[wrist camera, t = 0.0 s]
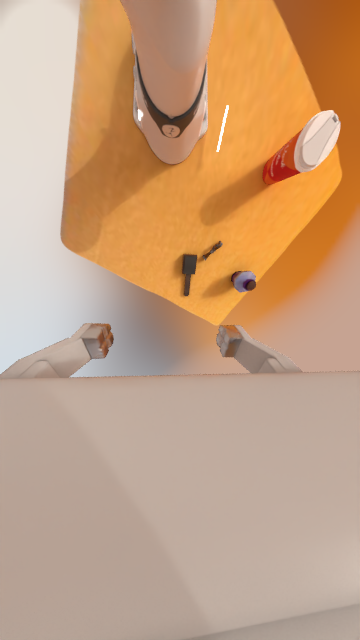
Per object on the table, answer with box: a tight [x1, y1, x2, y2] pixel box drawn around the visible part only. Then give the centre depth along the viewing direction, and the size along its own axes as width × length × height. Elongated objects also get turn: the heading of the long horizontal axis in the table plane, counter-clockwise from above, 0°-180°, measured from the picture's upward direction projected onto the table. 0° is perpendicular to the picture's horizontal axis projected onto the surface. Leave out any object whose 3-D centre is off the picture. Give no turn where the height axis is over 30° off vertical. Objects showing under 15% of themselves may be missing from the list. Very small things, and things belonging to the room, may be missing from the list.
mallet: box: [182, 254, 197, 296], centre depth 53 cm, size 17×5×3 cm, turn 177°
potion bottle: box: [231, 271, 256, 292], centre depth 51 cm, size 9×9×12 cm
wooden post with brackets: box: [203, 241, 223, 261], centre depth 49 cm, size 2×8×4 cm, turn 135°
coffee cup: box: [263, 110, 340, 185], centre depth 33 cm, size 8×8×15 cm
